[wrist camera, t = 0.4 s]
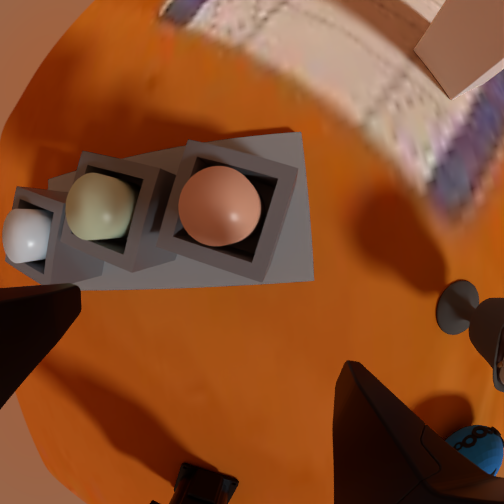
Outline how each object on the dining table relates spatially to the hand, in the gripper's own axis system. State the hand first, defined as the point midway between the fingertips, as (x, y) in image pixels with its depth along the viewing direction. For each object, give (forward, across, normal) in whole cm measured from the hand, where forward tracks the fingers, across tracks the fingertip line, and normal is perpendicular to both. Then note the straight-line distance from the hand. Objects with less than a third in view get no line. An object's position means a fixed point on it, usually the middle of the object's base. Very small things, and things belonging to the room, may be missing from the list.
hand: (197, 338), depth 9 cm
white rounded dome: (+9, +15, +2) cm, 18 cm away
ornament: (+12, -26, +16) cm, 33 cm away
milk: (+18, -14, -20) cm, 31 cm away
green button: (+10, +9, -1) cm, 13 cm away
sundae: (+15, -18, +2) cm, 24 cm away
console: (+15, +9, 0) cm, 17 cm away
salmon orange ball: (+10, +2, -3) cm, 10 cm away
